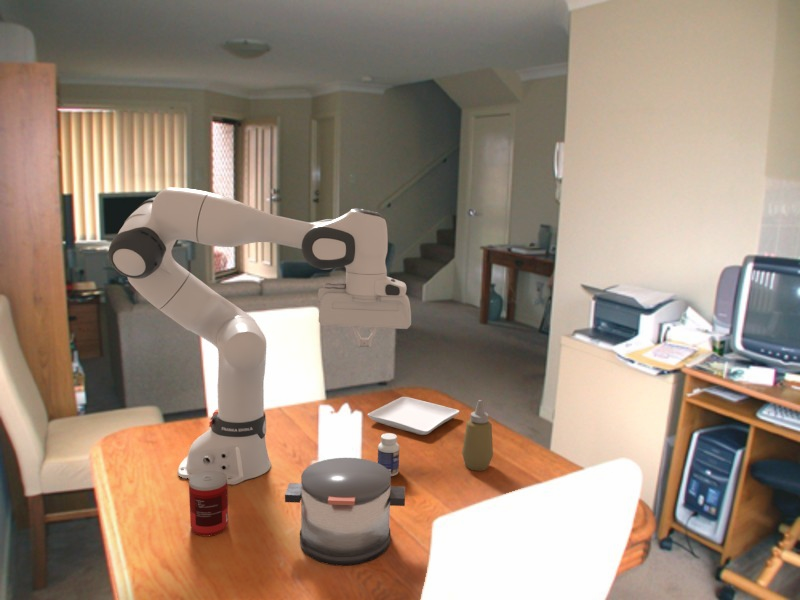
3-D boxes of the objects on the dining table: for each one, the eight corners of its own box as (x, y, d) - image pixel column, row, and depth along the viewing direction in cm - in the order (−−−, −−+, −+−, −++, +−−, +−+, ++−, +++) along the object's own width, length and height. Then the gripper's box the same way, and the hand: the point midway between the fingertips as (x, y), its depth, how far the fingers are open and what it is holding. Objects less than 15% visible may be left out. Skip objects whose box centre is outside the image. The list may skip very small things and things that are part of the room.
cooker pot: (278, 563, 126) (278, 506, 123) (295, 511, 145) (295, 460, 143) (403, 567, 126) (405, 510, 123) (403, 515, 145) (405, 464, 142)
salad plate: (460, 419, 203) (461, 409, 202) (426, 442, 185) (427, 430, 184) (402, 405, 214) (403, 395, 213) (365, 425, 196) (365, 414, 195)
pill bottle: (396, 478, 162) (397, 441, 160) (375, 475, 163) (376, 439, 161) (400, 468, 167) (401, 433, 165) (380, 466, 168) (381, 430, 166)
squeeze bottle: (489, 459, 174) (493, 395, 171) (494, 473, 166) (499, 406, 163) (459, 459, 174) (462, 395, 170) (463, 473, 166) (466, 406, 162)
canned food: (213, 513, 143) (212, 466, 141) (236, 526, 138) (235, 478, 136) (182, 527, 137) (180, 478, 135) (204, 541, 132) (203, 491, 130)
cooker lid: (293, 505, 122) (293, 497, 122) (308, 463, 141) (308, 456, 141) (389, 508, 122) (389, 500, 122) (391, 465, 141) (391, 459, 141)
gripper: (315, 285, 138) (315, 348, 141) (412, 288, 138) (409, 352, 141) (320, 280, 144) (319, 340, 147) (412, 283, 144) (410, 344, 147)
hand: (364, 346), depth 144 cm, fingers closed
